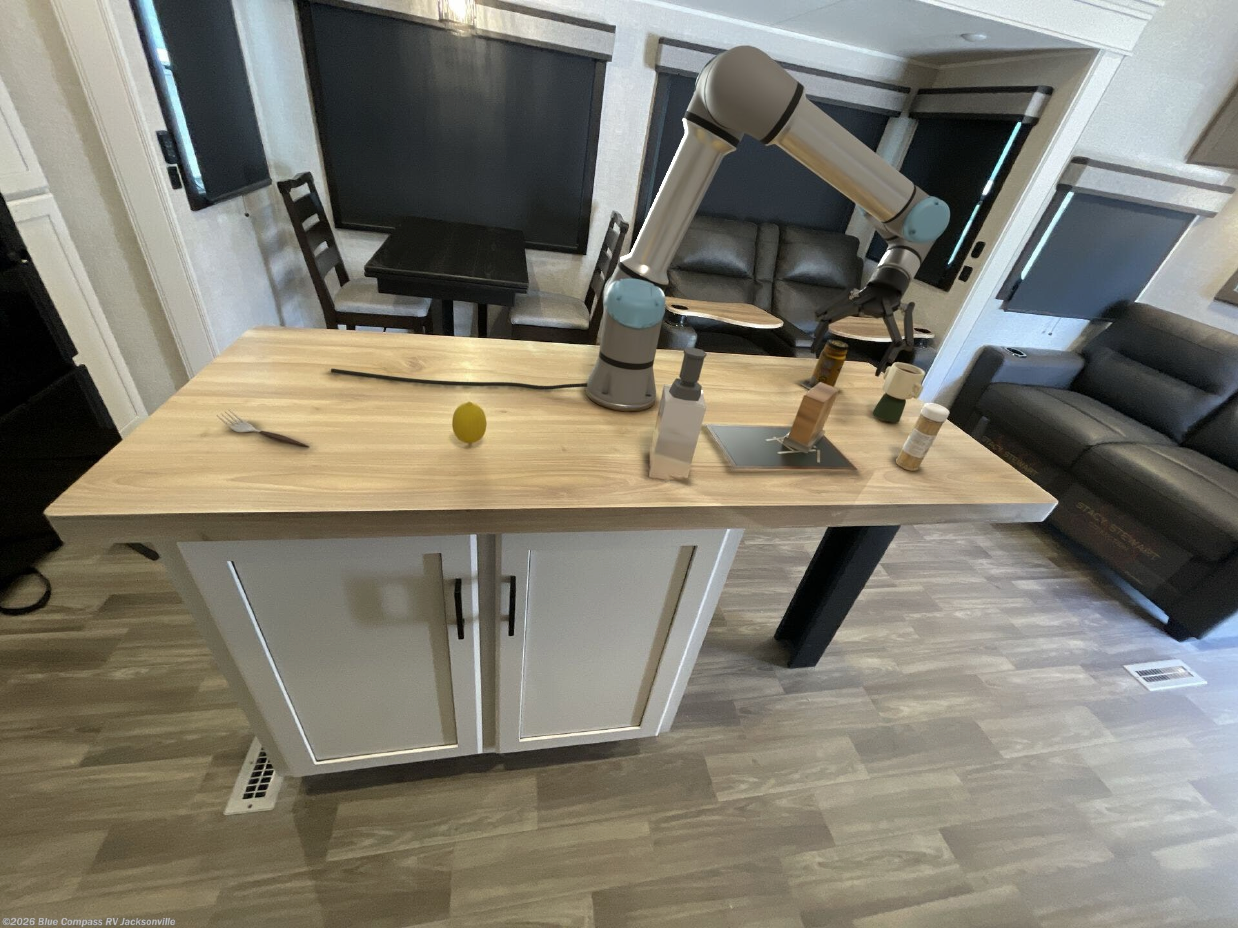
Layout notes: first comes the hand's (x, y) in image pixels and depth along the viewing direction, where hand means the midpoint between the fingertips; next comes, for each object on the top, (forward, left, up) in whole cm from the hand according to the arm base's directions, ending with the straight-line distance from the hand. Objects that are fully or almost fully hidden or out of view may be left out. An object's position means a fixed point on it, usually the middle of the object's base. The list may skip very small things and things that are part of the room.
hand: (843, 361), depth 108 cm
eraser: (-8, -7, -15) cm, 18 cm away
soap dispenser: (-39, -16, -16) cm, 45 cm away
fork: (-104, -9, -16) cm, 106 cm away
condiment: (+13, +21, -16) cm, 30 cm away
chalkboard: (-14, -10, -16) cm, 23 cm away
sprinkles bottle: (+13, -15, -16) cm, 25 cm away
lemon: (-73, -10, -16) cm, 76 cm away
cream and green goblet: (+22, +5, -16) cm, 27 cm away
